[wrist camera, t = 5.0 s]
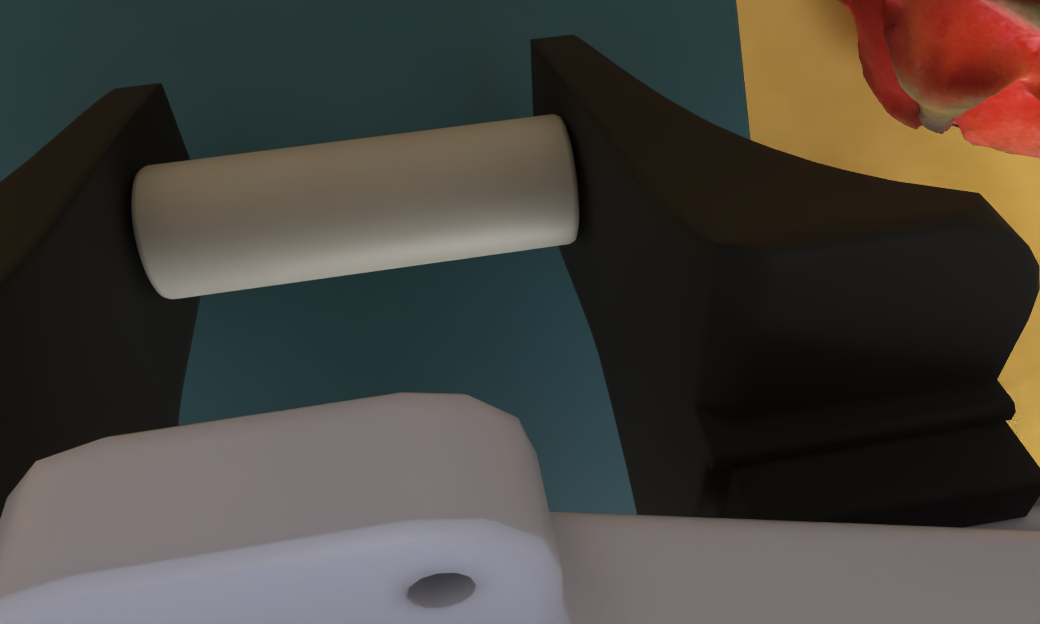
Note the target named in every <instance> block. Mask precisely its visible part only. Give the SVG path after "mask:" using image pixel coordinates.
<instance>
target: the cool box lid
mask: <svg viewBox="0 0 1040 624" xmlns="http://www.w3.org/2000/svg"><path fill="white" fill-rule="evenodd" d="M571 34H574V35H575V36H577V37H579V38H580V39H582V40H583V41H585V42H586V43H588V44H589V45H590V46H592V47H593V48H594V49H596V50H597V51H599V52H600V53H601V54H603V55H604V56H605V57H607V58H608V59H610V60H611V61H612V62H614V63H615V64H616V65H618V66H619V67H621V68H622V69H624V70H625V71H626V72H628V73H629V74H631V75H632V76H634V77H635V78H637V79H638V80H639V81H641V82H642V83H644V84H645V85H647V86H649V87H650V88H652V89H653V90H655V91H656V92H658V93H660V94H661V95H663V96H664V97H666V98H668V99H669V100H671V101H673V102H674V103H676V104H678V105H680V106H682V107H683V108H685V109H687V110H689V111H690V112H692V113H694V114H696V115H697V116H699V117H701V118H703V119H705V120H707V121H709V122H711V123H713V124H715V125H717V126H720V127H722V128H724V129H726V130H729V131H731V132H733V133H735V134H738V135H740V136H742V137H745V138H747V139H749V140H750V131H749V122H748V112H747V102H746V92H745V83H744V73H743V63H742V54H741V44H740V34H739V24H738V15H737V5H736V0H0V182H1V181H2V180H3V179H4V178H6V177H7V176H8V175H10V174H11V173H12V172H13V171H15V170H16V169H17V168H19V167H20V166H21V165H22V164H24V163H25V162H26V161H27V160H28V159H30V158H31V157H32V156H33V155H34V154H36V153H37V152H38V151H39V150H40V149H41V148H42V147H44V146H45V145H46V144H47V143H48V142H49V141H51V140H52V139H53V138H54V137H55V136H56V135H58V134H59V133H60V132H61V131H62V130H63V129H65V128H66V127H67V126H68V125H69V124H70V123H71V122H73V121H74V120H75V119H76V118H77V117H78V116H80V115H81V114H82V113H83V112H84V111H85V110H87V109H88V108H89V107H90V106H91V105H93V104H94V103H95V102H96V101H98V100H99V99H100V98H101V97H103V96H104V95H106V94H107V93H109V92H110V91H112V90H113V89H115V88H122V87H131V86H139V85H148V84H156V83H162V85H163V88H164V90H165V93H166V96H167V98H168V101H169V104H170V106H171V109H172V112H173V115H174V117H175V120H176V123H177V125H178V128H179V131H180V133H181V136H182V139H183V141H184V144H185V147H186V149H187V152H188V155H189V157H190V160H186V161H179V162H171V163H163V164H155V165H147V166H145V167H143V168H142V169H140V170H139V171H138V172H137V174H136V176H135V178H134V182H133V187H132V199H131V212H132V223H133V230H134V236H135V241H136V245H137V249H138V252H139V256H140V259H141V262H142V264H143V267H144V269H145V272H146V274H147V276H148V278H149V280H150V282H151V284H152V285H153V287H154V288H155V290H156V291H157V292H158V293H159V294H160V295H161V296H163V297H165V298H169V299H180V298H187V297H194V296H201V297H200V302H199V307H198V313H197V318H196V323H195V328H194V333H193V338H192V344H191V349H190V354H189V359H188V364H187V369H186V375H185V380H184V385H183V391H182V398H181V405H180V413H179V424H178V426H183V425H189V424H196V423H202V422H209V421H216V420H222V419H229V418H235V417H242V416H249V415H255V414H262V413H268V412H275V411H281V410H288V409H295V408H301V407H308V406H314V405H321V404H328V403H334V402H341V401H347V400H354V399H361V398H367V397H374V396H380V395H387V394H394V393H400V392H411V393H456V394H466V395H469V396H471V397H474V398H476V399H478V400H480V401H482V402H484V403H487V404H489V405H491V406H493V407H495V408H498V409H500V410H502V411H504V412H506V413H508V414H511V415H513V416H515V417H517V418H518V419H519V421H520V423H521V424H522V426H523V428H524V430H525V432H526V434H527V436H528V438H529V440H530V442H531V443H532V445H533V447H534V449H535V451H536V453H537V457H538V462H539V467H540V471H541V476H542V480H543V485H544V490H545V494H546V499H547V503H548V508H549V512H575V513H601V514H626V515H637V512H636V507H635V503H634V498H633V494H632V489H631V485H630V481H629V476H628V472H627V467H626V463H625V459H624V455H623V451H622V447H621V442H620V438H619V434H618V430H617V426H616V422H615V418H614V413H613V409H612V405H611V401H610V398H609V394H608V390H607V386H606V382H605V378H604V374H603V370H602V366H601V362H600V359H599V355H598V351H597V348H596V345H595V342H594V339H593V336H592V333H591V330H590V327H589V325H588V322H587V319H586V317H585V314H584V312H583V309H582V306H581V304H580V301H579V299H578V296H577V294H576V291H575V288H574V286H573V283H572V281H571V278H570V276H569V273H568V270H567V268H566V265H565V263H564V260H563V257H562V255H561V252H560V250H559V247H558V246H559V245H566V244H570V243H572V242H574V241H575V240H576V237H577V233H578V228H579V191H578V181H577V173H576V166H575V160H574V154H573V149H572V145H571V141H570V137H569V134H568V131H567V128H566V126H565V124H564V122H563V120H562V118H561V117H560V116H558V115H555V114H550V115H542V116H534V117H533V100H532V73H531V47H530V39H537V38H546V37H554V36H563V35H571Z"/></svg>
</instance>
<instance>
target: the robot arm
mask: <svg viewBox="0 0 1040 624" xmlns="http://www.w3.org/2000/svg"><path fill="white" fill-rule="evenodd" d="M530 47H531V73H532V100H533V117H534V116H542V115H550V114H555V115H558V116H560V117H561V118H562V120H563V122H564V124H565V126H566V128H567V131H568V134H569V137H570V141H571V145H572V149H573V154H574V160H575V166H576V173H577V181H578V191H579V228H578V233H577V237H576V240H575V241H574V242H572V243H570V244H566V245H559V246H558V247H559V250H560V252H561V255H562V257H563V260H564V263H565V265H566V268H567V270H568V273H569V276H570V278H571V281H572V283H573V286H574V288H575V291H576V294H577V296H578V299H579V301H580V304H581V306H582V309H583V312H584V314H585V317H586V319H587V322H588V325H589V327H590V330H591V333H592V336H593V339H594V342H595V345H596V348H597V351H598V355H599V359H600V362H601V366H602V370H603V374H604V378H605V382H606V386H607V390H608V394H609V398H610V401H611V405H612V409H613V413H614V418H615V422H616V426H617V430H618V434H619V438H620V442H621V447H622V451H623V455H624V459H625V463H626V467H627V472H628V476H629V481H630V485H631V489H632V494H633V498H634V503H635V507H636V512H637V515H626V514H601V513H575V512H549V508H548V503H547V499H546V494H545V490H544V485H543V480H542V476H541V471H540V467H539V462H538V457H537V453H536V451H535V449H534V447H533V445H532V443H531V442H530V440H529V438H528V436H527V434H526V432H525V430H524V428H523V426H522V424H521V423H520V421H519V419H518V418H517V417H515V416H513V415H511V414H508V413H506V412H504V411H502V410H500V409H498V408H495V407H493V406H491V405H489V404H487V403H484V402H482V401H480V400H478V399H476V398H474V397H471V396H469V395H466V394H456V393H411V392H400V393H394V394H387V395H380V396H374V397H367V398H361V399H354V400H347V401H341V402H334V403H328V404H321V405H314V406H308V407H301V408H295V409H288V410H281V411H275V412H268V413H262V414H255V415H249V416H242V417H235V418H229V419H222V420H216V421H209V422H202V423H196V424H189V425H183V426H178V424H179V413H180V405H181V398H182V391H183V385H184V380H185V375H186V369H187V364H188V359H189V354H190V349H191V344H192V338H193V333H194V328H195V323H196V318H197V313H198V307H199V302H200V297H201V296H194V297H187V298H180V299H169V298H165V297H163V296H161V295H160V294H159V293H158V292H157V291H156V290H155V288H154V287H153V285H152V284H151V282H150V280H149V278H148V276H147V274H146V272H145V269H144V267H143V264H142V262H141V259H140V256H139V252H138V249H137V245H136V241H135V236H134V230H133V223H132V212H131V199H132V187H133V182H134V178H135V176H136V174H137V172H138V171H139V170H140V169H142V168H143V167H145V166H147V165H155V164H163V163H171V162H179V161H186V160H190V157H189V155H188V152H187V149H186V147H185V144H184V141H183V139H182V136H181V133H180V131H179V128H178V125H177V123H176V120H175V117H174V115H173V112H172V109H171V106H170V104H169V101H168V98H167V96H166V93H165V90H164V88H163V85H162V83H156V84H148V85H139V86H131V87H122V88H115V89H113V90H112V91H110V92H109V93H107V94H106V95H104V96H103V97H101V98H100V99H99V100H98V101H96V102H95V103H94V104H93V105H91V106H90V107H89V108H88V109H87V110H85V111H84V112H83V113H82V114H81V115H80V116H78V117H77V118H76V119H75V120H74V121H73V122H71V123H70V124H69V125H68V126H67V127H66V128H65V129H63V130H62V131H61V132H60V133H59V134H58V135H56V136H55V137H54V138H53V139H52V140H51V141H49V142H48V143H47V144H46V145H45V146H44V147H42V148H41V149H40V150H39V151H38V152H37V153H36V154H34V155H33V156H32V157H31V158H30V159H28V160H27V161H26V162H25V163H24V164H22V165H21V166H20V167H19V168H17V169H16V170H15V171H13V172H12V173H11V174H10V175H8V176H7V177H6V178H4V179H3V180H2V181H1V182H0V624H1040V468H1039V466H1038V465H1037V463H1036V462H1035V461H1034V459H1033V458H1032V457H1031V455H1030V454H1029V452H1028V451H1027V450H1026V448H1025V447H1024V446H1023V444H1022V443H1021V442H1020V440H1019V439H1018V437H1017V436H1016V435H1015V433H1014V432H1013V431H1012V429H1011V428H1010V426H1009V425H1008V424H1007V422H1006V420H1011V419H1012V417H1013V416H1014V414H1015V412H1016V410H1015V404H1014V402H1013V400H1012V399H1011V398H1010V396H1009V395H1008V394H1007V392H1006V391H1005V390H1004V388H1003V387H1002V386H1001V384H1000V383H999V382H998V380H997V378H998V377H999V375H1000V373H1001V371H1002V369H1003V367H1004V365H1005V363H1006V361H1007V359H1008V357H1009V355H1010V354H1011V352H1012V350H1013V348H1014V346H1015V344H1016V342H1017V340H1018V338H1019V336H1020V334H1021V333H1022V331H1023V329H1024V327H1025V325H1026V323H1027V321H1028V319H1029V317H1030V314H1031V312H1032V309H1033V306H1034V303H1035V300H1036V298H1037V295H1038V292H1039V289H1040V283H1039V264H1038V263H1037V261H1036V259H1035V257H1034V255H1033V253H1032V251H1031V249H1030V247H1029V246H1028V245H1027V244H1026V243H1025V242H1024V240H1023V239H1022V238H1021V237H1020V236H1019V235H1018V234H1017V233H1016V232H1015V231H1014V230H1013V229H1012V228H1011V226H1010V225H1009V224H1008V223H1007V222H1006V221H1005V220H1004V219H1003V218H1002V217H1001V216H1000V215H999V214H998V212H997V211H996V210H995V209H994V208H993V207H992V206H991V205H990V204H989V203H988V202H987V201H986V200H985V199H984V198H983V197H982V196H981V195H980V194H979V193H975V192H968V191H961V190H953V189H946V188H939V187H932V186H925V185H918V184H911V183H904V182H897V181H892V180H887V179H882V178H878V177H873V176H869V175H864V174H860V173H855V172H851V171H846V170H842V169H838V168H834V167H831V166H827V165H823V164H819V163H816V162H812V161H809V160H806V159H803V158H800V157H797V156H794V155H791V154H788V153H785V152H782V151H778V150H775V149H773V148H770V147H767V146H765V145H762V144H759V143H757V142H754V141H751V140H749V139H747V138H745V137H742V136H740V135H738V134H735V133H733V132H731V131H729V130H726V129H724V128H722V127H720V126H717V125H715V124H713V123H711V122H709V121H707V120H705V119H703V118H701V117H699V116H697V115H696V114H694V113H692V112H690V111H689V110H687V109H685V108H683V107H682V106H680V105H678V104H676V103H674V102H673V101H671V100H669V99H668V98H666V97H664V96H663V95H661V94H660V93H658V92H656V91H655V90H653V89H652V88H650V87H649V86H647V85H645V84H644V83H642V82H641V81H639V80H638V79H637V78H635V77H634V76H632V75H631V74H629V73H628V72H626V71H625V70H624V69H622V68H621V67H619V66H618V65H616V64H615V63H614V62H612V61H611V60H610V59H608V58H607V57H605V56H604V55H603V54H601V53H600V52H599V51H597V50H596V49H594V48H593V47H592V46H590V45H589V44H588V43H586V42H585V41H583V40H582V39H580V38H579V37H577V36H575V35H574V34H571V35H563V36H554V37H546V38H537V39H530Z"/></svg>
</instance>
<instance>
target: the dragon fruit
mask: <svg viewBox="0 0 1040 624" xmlns="http://www.w3.org/2000/svg"><path fill="white" fill-rule="evenodd" d="M837 1H839V2H841V3H842V4H843V5H844V6H845V7H846V8H847V9H848V10H849V11H850V12H851V14H852V15H853V17H854V19H855V22H856V25H857V33H858V51H859V58H860V61H861V64H862V67H863V75H864V77H865V79H866V81H867V83H868V85H869V87H870V88H871V90H872V91H873V93H874V94H875V96H876V97H877V99H878V100H879V102H880V103H881V104H882V105H883V107H884V109H885V110H886V111H887V113H889V114H890V115H891V116H892V117H893V118H895V119H896V120H898V121H899V122H901V123H903V124H905V125H906V126H908V127H911V128H914V129H918V128H919V127H920V126H922V125H923V126H924V127H925V128H927V129H929V130H931V131H934V132H936V133H940V134H942V133H944V131H947V130H948V129H949V128H950V127H951V126H955V127H959V128H960V130H961V132H962V134H963V137H964V139H965V140H966V141H968V142H970V143H971V144H973V145H978V146H985V147H990V148H993V149H996V150H999V151H1003V152H1006V153H1010V154H1016V155H1024V156H1030V157H1036V158H1040V0H837Z"/></svg>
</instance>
